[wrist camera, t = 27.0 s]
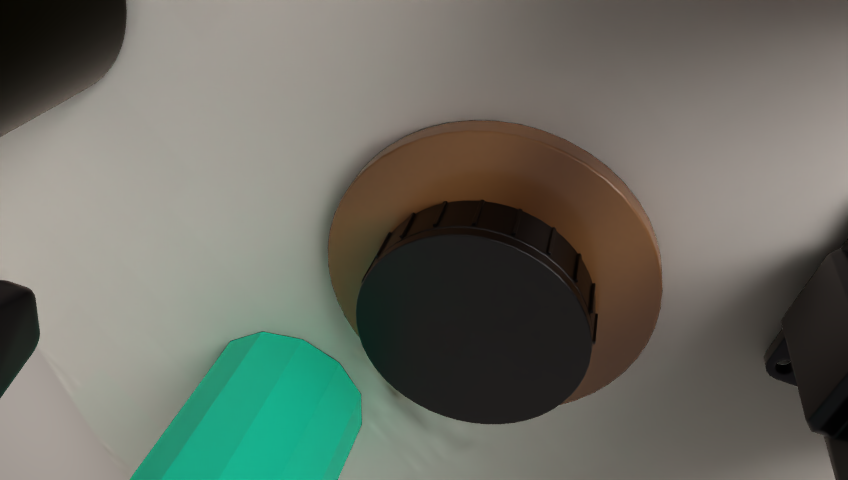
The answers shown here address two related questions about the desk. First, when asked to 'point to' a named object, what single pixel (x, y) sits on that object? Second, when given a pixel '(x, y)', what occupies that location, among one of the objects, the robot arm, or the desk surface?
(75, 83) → the battery
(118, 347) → the desk surface
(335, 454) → the candle
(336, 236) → the coaster
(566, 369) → the lid
